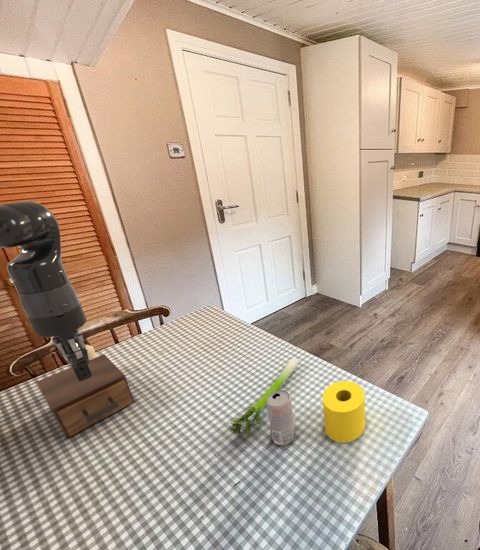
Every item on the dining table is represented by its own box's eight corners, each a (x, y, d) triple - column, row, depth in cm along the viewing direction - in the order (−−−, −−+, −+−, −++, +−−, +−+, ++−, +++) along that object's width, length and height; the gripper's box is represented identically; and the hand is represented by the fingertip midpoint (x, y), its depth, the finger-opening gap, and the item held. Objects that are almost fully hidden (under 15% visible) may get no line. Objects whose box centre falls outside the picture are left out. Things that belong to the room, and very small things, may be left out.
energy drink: (288, 423, 76) (282, 385, 72) (299, 436, 72) (295, 397, 68) (268, 436, 73) (261, 397, 68) (279, 450, 69) (273, 411, 64)
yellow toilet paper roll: (317, 434, 73) (314, 404, 69) (336, 404, 82) (334, 376, 78) (355, 448, 69) (354, 417, 66) (370, 415, 78) (370, 386, 75)
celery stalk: (305, 370, 97) (251, 446, 69) (285, 369, 99) (225, 444, 71) (301, 353, 95) (245, 424, 68) (282, 353, 97) (219, 422, 69)
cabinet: (134, 401, 83) (124, 375, 79) (66, 438, 72) (51, 409, 69) (114, 379, 91) (104, 354, 88) (50, 408, 81) (36, 381, 77)
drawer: (140, 410, 79) (131, 388, 76) (75, 446, 69) (63, 423, 66) (113, 380, 89) (105, 360, 87) (54, 408, 80) (43, 387, 77)
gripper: (19, 305, 60) (53, 375, 66) (34, 325, 53) (71, 402, 59) (69, 292, 65) (96, 357, 72) (89, 308, 58) (117, 380, 65)
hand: (85, 377), depth 65 cm, fingers closed
